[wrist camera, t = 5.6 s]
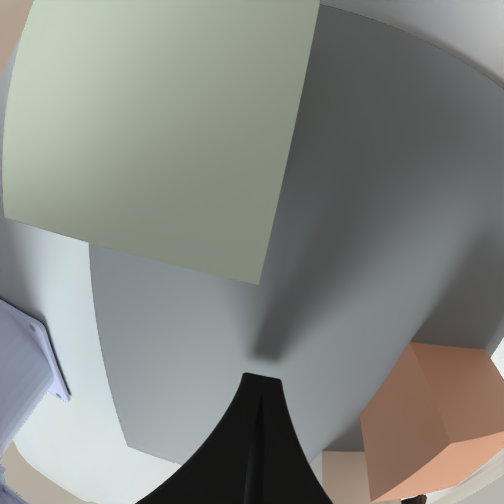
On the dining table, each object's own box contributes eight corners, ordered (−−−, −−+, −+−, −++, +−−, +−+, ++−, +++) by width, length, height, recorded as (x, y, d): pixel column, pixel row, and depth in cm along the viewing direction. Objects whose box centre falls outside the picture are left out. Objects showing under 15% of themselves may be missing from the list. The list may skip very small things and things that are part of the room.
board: (132, 436, 17) (127, 446, 16) (136, 7, 7) (123, -1, 6) (364, 475, 17) (365, 485, 16) (554, 146, 6) (568, 149, 5)
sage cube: (123, 173, 8) (4, 217, 4) (149, 29, 7) (45, -26, 2) (274, 201, 8) (258, 285, 4) (308, 41, 6) (330, -59, 2)
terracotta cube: (359, 415, 12) (370, 502, 7) (409, 341, 10) (450, 443, 5) (433, 415, 12) (454, 485, 7) (484, 349, 10) (527, 423, 5)
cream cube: (295, 478, 15) (292, 536, 11) (321, 450, 13) (322, 523, 9) (357, 479, 15) (361, 533, 10) (392, 450, 13) (402, 514, 9)
